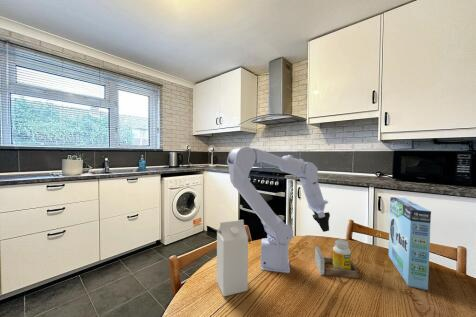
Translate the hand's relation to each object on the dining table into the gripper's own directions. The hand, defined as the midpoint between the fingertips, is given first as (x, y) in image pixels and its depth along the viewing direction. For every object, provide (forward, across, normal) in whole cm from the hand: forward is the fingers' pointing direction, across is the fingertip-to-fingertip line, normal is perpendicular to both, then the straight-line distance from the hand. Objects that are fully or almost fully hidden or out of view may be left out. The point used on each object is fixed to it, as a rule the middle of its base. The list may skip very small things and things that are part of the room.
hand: (323, 225), depth 75 cm
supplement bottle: (+11, -10, 0) cm, 15 cm away
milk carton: (-3, -25, +31) cm, 40 cm away
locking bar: (+8, -10, +6) cm, 15 cm away
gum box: (+19, -7, -20) cm, 28 cm away
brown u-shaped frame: (+11, -10, 0) cm, 15 cm away
